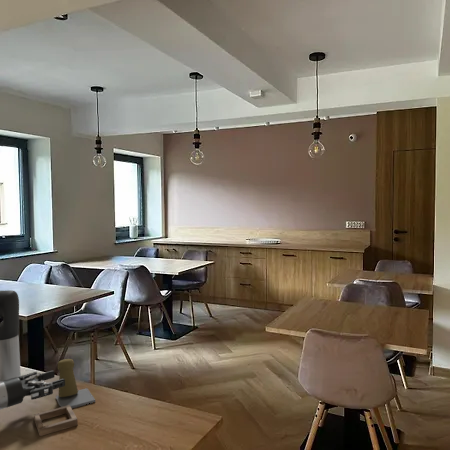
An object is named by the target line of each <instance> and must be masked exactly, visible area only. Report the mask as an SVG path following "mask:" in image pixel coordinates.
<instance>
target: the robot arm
mask: <svg viewBox="0 0 450 450" xmlns="http://www.w3.org/2000/svg"><path fill="white" fill-rule="evenodd" d="M1 318H3V322H2V323H1V324H0V411H2V410H3V409H7V408H10V407H14V406H16V405H20V404H22V402H23V401H24V398H25V397H29V396H30V399H31V400H32V401H33V400H37V399H40V398H43V397H44V398H45V397H47V396H50V395H53V393H54V390H56V389H57V390H58V389H59V388H60V387H63V386H65V379H60V380H59V379H57V380H53V381H49V382H48V380H52V379H54V378H55V371H54V370H49V371H46V372H45V371H44V372H43V373H41V372H37V371H34V372H31V373H27V374H24V375H21V355H20V341H19V328H20V327H19V326H20V299H19V294H18V293H17V292H16V291H15V290H12V289H11V290H9V289H7V290H0V319H1ZM45 381H47V382H45Z"/></svg>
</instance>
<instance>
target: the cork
mask: <svg viewBox="0 0 450 450" xmlns="http://www.w3.org/2000/svg"><path fill="white" fill-rule="evenodd" d="M74 368H75V361H74V360H73V359H72V358H65V359H61V360H59V361H58V362H57V370H58V371H59V376H58V378H59V379H58V380H60V379H65V386H63V387H60V388H58V395H57V396H59V397H66V396H71V395H74V394H76V393H78V390H79V389H78V385H77V381H76V376H75V372H74Z"/></svg>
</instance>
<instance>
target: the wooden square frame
mask: <svg viewBox="0 0 450 450" xmlns="http://www.w3.org/2000/svg"><path fill="white" fill-rule="evenodd" d="M62 415H67V418H68V419H65V420H61V421H58V422H54V423H51V424H47V425H45V426H44V424H43V422H42V421H44V420H48V419H51V418H55V417H59V416H62ZM33 420H34V424H35V426H36V428H37V432H38V435H39V437H42V436H45V435H48V434H51V433H52V434H53V433H55V432H59V431H63V430H65V429H69V428H73V427H76V426H79V425H78V421H79V420H78V417H77V416H76V414H75V412H74V410H73V408H71V407H70V405H67V406H64V407H60V406H59V407H57V408H53V409H52V408H51V409H49V410H45V411H40V412H37V413H35V414H33Z"/></svg>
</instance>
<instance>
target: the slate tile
mask: <svg viewBox="0 0 450 450" xmlns="http://www.w3.org/2000/svg"><path fill="white" fill-rule="evenodd" d="M55 399H56V401H57V402H56V403H58V405H59V408H60V407H64V406H67V405H70V407H71V408H72V409H77V408H79V407H82V406H86V404H87V405H90V404H94V403H96V399H95V397H94V395H92V393H91V391H90V390H89V388H88V387H86V388H82V389H78V393H76V394H74V395H71V396H66V397H59V396H58V395H55ZM93 402H94V403H93ZM89 403H90V404H89Z"/></svg>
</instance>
